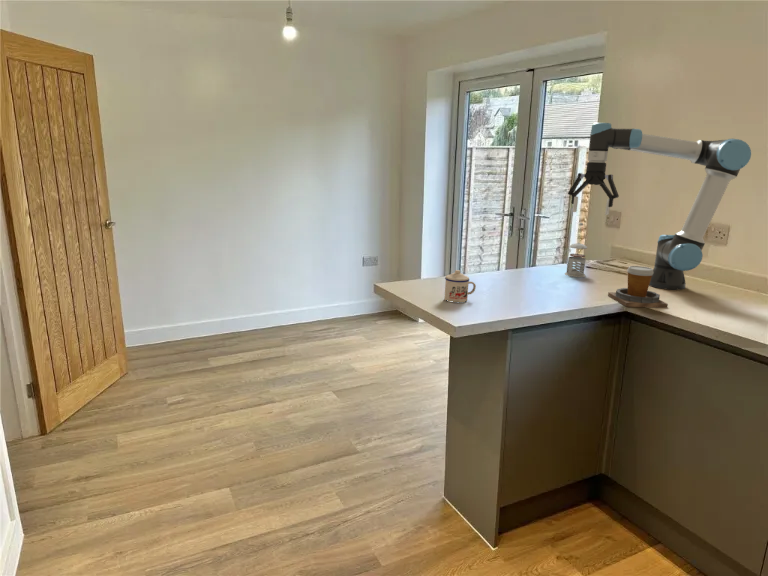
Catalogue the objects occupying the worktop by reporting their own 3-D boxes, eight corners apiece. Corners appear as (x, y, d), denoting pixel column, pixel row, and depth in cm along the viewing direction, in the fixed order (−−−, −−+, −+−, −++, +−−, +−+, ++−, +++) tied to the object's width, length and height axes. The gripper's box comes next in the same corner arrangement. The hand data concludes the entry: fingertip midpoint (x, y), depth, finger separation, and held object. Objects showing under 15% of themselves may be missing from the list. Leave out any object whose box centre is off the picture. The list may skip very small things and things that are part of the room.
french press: (588, 277, 253) (595, 224, 247) (564, 276, 253) (570, 223, 247) (581, 273, 262) (588, 222, 256) (558, 272, 262) (563, 221, 256)
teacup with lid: (447, 303, 198) (449, 273, 196) (440, 297, 207) (442, 268, 204) (478, 303, 201) (480, 273, 198) (470, 297, 209) (472, 267, 207)
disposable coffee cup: (652, 302, 205) (657, 271, 202) (626, 300, 207) (630, 269, 204) (645, 296, 214) (650, 266, 211) (620, 294, 216) (624, 264, 213)
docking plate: (646, 296, 219) (647, 288, 218) (667, 307, 203) (668, 298, 203) (607, 295, 219) (609, 287, 218) (625, 306, 203) (626, 297, 202)
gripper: (563, 160, 226) (558, 211, 231) (625, 162, 211) (618, 216, 216) (570, 161, 232) (564, 210, 237) (631, 163, 217) (623, 215, 222)
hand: (590, 213), depth 227 cm, fingers open, 13 cm apart
